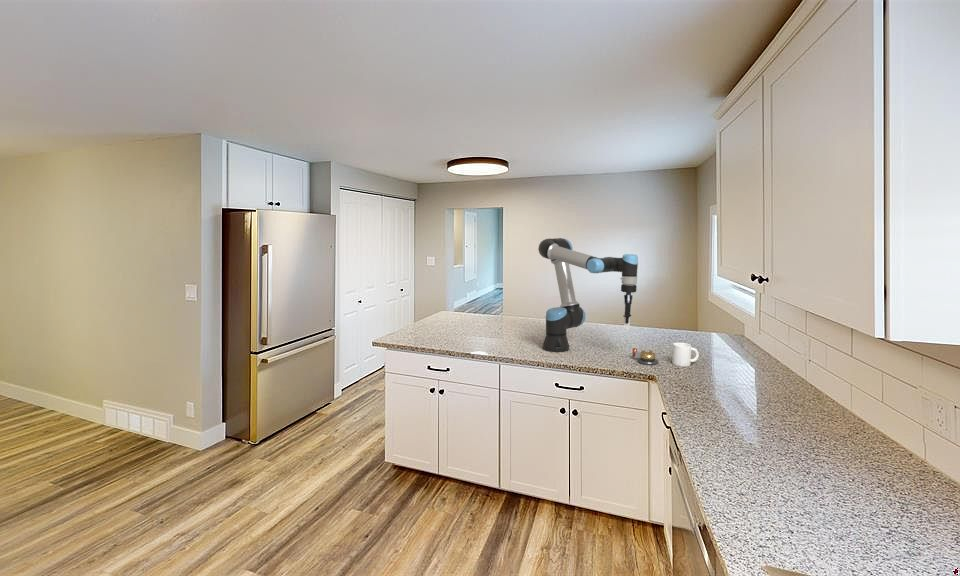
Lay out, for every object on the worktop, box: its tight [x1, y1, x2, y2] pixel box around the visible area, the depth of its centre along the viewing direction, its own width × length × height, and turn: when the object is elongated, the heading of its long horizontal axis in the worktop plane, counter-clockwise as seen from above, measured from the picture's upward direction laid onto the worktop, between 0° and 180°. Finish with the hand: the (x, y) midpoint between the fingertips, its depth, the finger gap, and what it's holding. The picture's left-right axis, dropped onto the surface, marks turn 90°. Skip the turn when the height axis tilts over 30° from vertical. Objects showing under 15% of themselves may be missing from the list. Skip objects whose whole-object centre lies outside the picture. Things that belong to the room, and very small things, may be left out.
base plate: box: [636, 357, 659, 366], centre depth 213 cm, size 10×10×1 cm
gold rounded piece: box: [631, 347, 656, 361], centre depth 215 cm, size 12×7×4 cm, turn 37°
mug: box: [671, 342, 700, 368], centre depth 208 cm, size 12×8×10 cm
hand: (626, 328), depth 219 cm, fingers closed
